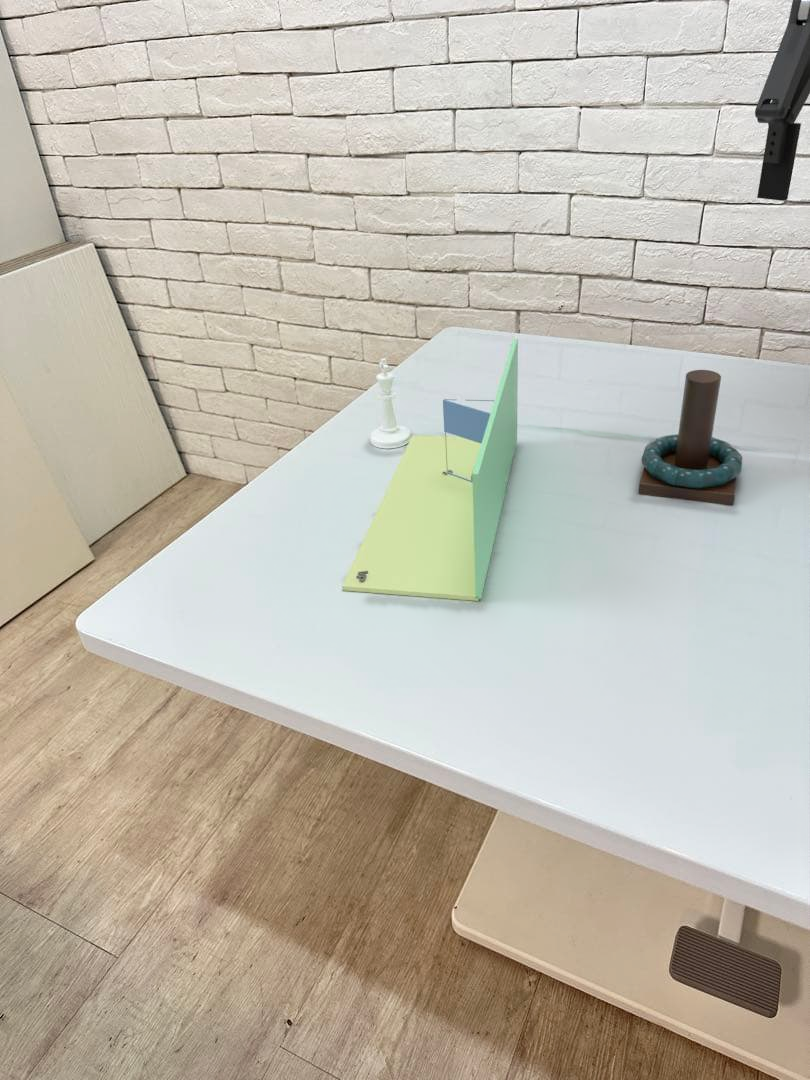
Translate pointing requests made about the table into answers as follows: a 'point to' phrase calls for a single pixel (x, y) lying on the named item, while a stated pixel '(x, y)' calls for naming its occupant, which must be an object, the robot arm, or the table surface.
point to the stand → (694, 443)
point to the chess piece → (388, 415)
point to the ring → (692, 476)
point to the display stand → (444, 504)
